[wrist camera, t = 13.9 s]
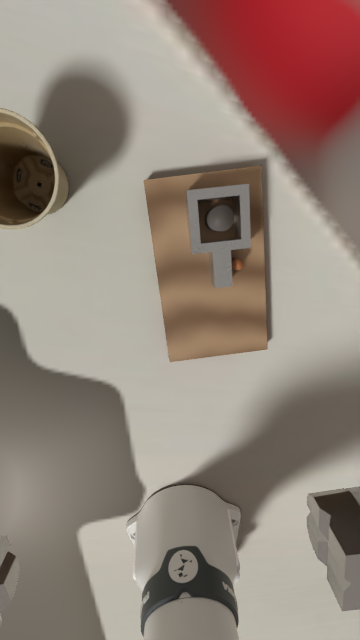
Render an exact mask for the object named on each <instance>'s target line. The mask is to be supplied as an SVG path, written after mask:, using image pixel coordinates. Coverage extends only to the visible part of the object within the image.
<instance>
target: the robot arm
mask: <svg viewBox="0 0 360 640" xmlns="http://www.w3.org/2000/svg"><path fill="white" fill-rule="evenodd" d="M307 505H308V507H309V509H310V511H311V512H310V513H309V515H308V516H307V528H308V533H309V538H310V541H311V543H312V546H313V549H314V551H315V553H316V556H317V558H318V559H319V560H320V561H321V562H322V563H324V564H325V565H326V566H327V580H328V582H329V584H330V586H331V588H332V590H333V592H334V595H335V597H336V599H337V601H338V603H339V605H340V607H341V609H342V611H348V610H358V609H360V487H353V488H346V489H344V488H343V489H336V490H330V491H323V492H316V493H310V494H308V496H307ZM240 519H241V513H240V509H239V508H238V507H237V506H234V505H232V504H229V503H226V502H224V501H223V500H222V499H221V498H219V497H218V496H217V495H216V494H215V493H213V492H212V491H210V490H208V489H205V488H203V487H199V486H194V485H178V486H173V487H169V488H166V489H164V490H161V491H159V492H158V493H156V494H154V495H153V496H152V497H151V498H150V499H149V500H148V501H147V502H146V503H145V504H144V506H143V508H142V509H141V511H140V512H139V513H138V514H137V515H136V516H134V517H133V518H132V519H130V520H129V521H128V522H127V524H126V532H127V534H128V536H129V538H130V540H131V541H132V543H133V545H134V567H133V577H134V579H135V580H136V582H137V584H138V586H139V587H140V589H141V590H142V591H143V593H142V603H141V612H140V617H141V632H142V635H143V637H144V640H239V637H238V632H237V627H238V608H237V601H236V597H235V594H234V589H233V585H232V584H233V583H234V582H239V581H240V574H239V570H240V563H239V559H238V554H237V548H236V541H237V536H238V530H239V525H240ZM10 546H11V543H10V541H9V539H8V537H7V536H0V612H1V611H2V610H3V609H4V608H5V607H6V606H7V605H8V604H9V602H10V601H11V600H12V597H13V595H14V592H15V590H16V587H17V582H18V577H19V563H18V560H17V558H16V556H15V555H13V554H12V553H10V552H9V551H8V550H9V548H10ZM1 624H2V621H1V614H0V626H1Z"/></svg>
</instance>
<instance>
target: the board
mask: <svg viewBox="0 0 360 640" xmlns="http://www.w3.org/2000/svg"><path fill="white" fill-rule="evenodd" d="M242 184H249V199H250V232H251V248H245V249H235V250H231V263H232V283H233V286H231V287H222V288H214V286H213V285H212V284H211V275H210V261H209V252H208V253H199V254H192V253H191V252H190V245H189V234H188V223H187V212H186V200H185V192H186V191H187V190H194V189H204V188H213V187H223V186H232V185H242ZM144 186H145V193H146V200H147V207H148V214H149V221H150V228H151V235H152V242H153V249H154V256H155V263H156V269H157V276H158V283H159V290H160V297H161V304H162V311H163V318H164V325H165V332H166V339H167V346H168V353H169V360H170V362H174V361H182V360H189V359H197V358H205V357H212V356H220V355H228V354H235V353H243V352H251V351H258V350H266V349H267V319H266V289H265V260H264V230H263V200H262V171H261V166H253V167H245V168H237V169H229V170H221V171H213V172H205V173H197V174H189V175H181V176H172V177H164V178H156V179H148V180H144ZM198 215H199V227H200V240H201V242H206V241H216V240H225V239H234V238H235V223H234V201H233V198H229V199H220V200H211V201H201V202H198Z"/></svg>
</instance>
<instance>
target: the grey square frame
mask: <svg viewBox="0 0 360 640" xmlns="http://www.w3.org/2000/svg"><path fill="white" fill-rule="evenodd" d="M229 198H233V201H234V223H235V238H234V239H225V240H216V241H206V242H201V240H200V227H199V215H198V202H201V201H211V200H220V199H229ZM185 200H186V212H187V223H188V234H189V245H190V252H191V253H192V254H199V253H208V252H209V261H210V275H211V284H212V285H213V286H214V288H222V287H231V286H233V283H232V263H231V250H235V249H245V248H251V232H250V199H249V184H242V185H232V186H223V187H213V188H204V189H194V190H187V191H186V192H185Z"/></svg>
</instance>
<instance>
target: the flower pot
mask: <svg viewBox="0 0 360 640" xmlns="http://www.w3.org/2000/svg"><path fill="white" fill-rule="evenodd" d="M42 160H45V161H47V162H48V163H50V164H51V165H52V166H51V168H49V167H47V166H45V165H43V164H41V161H42ZM19 169H21V171H22V174H21V177H20V181H17V180H18V179H17V176H18V171H19ZM37 183H41V186H40V187H39V186H38V185H37ZM68 191H69V185H68V180H67V177H66V175H65V172H64V170H63V169H62V167H61V166H60V165H59V164H58V163H57V160H56V157H55V154H54V152H53V150H52V148H51V146H50V144H49V142H48V141H47V139H46V138H45V137H44V135H43V134H42V133H41V132H40V131H39V130H38V128H37V127H35V126H34V125H33V124H32V123H31V122H30V121H28V120H27V119H26V118H24V117H22V116H21V115H19V114H17V113H15V112H13V111H10V110H7V109H3V108H0V228H5V229H20V228H25V227H28V226H31V225H33V224H35V223H37V222H39V221H40V220H41V219H43V218H44V217H45V216H46V215H47V214H51V213H54V212H56V211H57V210H59V209H60V208H61V207H62V206H63V205H64V203H65V201H66V199H67V196H68ZM30 203H31V204H33V205H36V206H39V207H40V210H36V209H34V208H32V207H31V206H30V205H29V204H30Z"/></svg>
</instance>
